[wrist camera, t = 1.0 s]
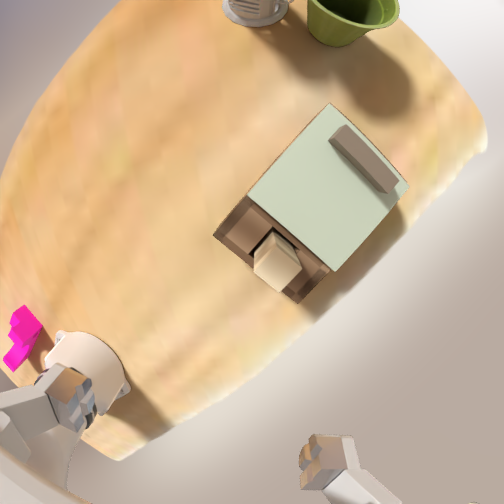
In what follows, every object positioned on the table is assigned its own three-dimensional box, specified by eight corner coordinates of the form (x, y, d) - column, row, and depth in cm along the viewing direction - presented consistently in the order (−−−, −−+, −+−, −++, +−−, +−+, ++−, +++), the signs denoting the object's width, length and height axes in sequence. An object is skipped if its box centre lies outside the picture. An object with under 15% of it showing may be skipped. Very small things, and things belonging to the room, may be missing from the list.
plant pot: (350, -1, 27) (375, -37, 16) (377, 58, 30) (414, 31, 20) (279, 2, 28) (287, -41, 17) (304, 64, 31) (323, 29, 20)
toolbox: (291, 282, 40) (297, 304, 33) (220, 223, 38) (212, 235, 31) (383, 179, 36) (407, 182, 29) (317, 114, 33) (329, 102, 27)
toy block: (25, 304, 43) (4, 319, 36) (43, 325, 44) (23, 342, 37) (13, 337, 46) (-4, 352, 39) (29, 356, 48) (13, 372, 40)
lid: (333, 269, 32) (341, 280, 28) (247, 194, 30) (245, 197, 26) (405, 185, 29) (420, 188, 25) (327, 105, 27) (335, 97, 23)
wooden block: (272, 255, 38) (279, 292, 26) (254, 240, 37) (253, 272, 26) (288, 238, 37) (302, 268, 26) (270, 222, 37) (276, 246, 25)
